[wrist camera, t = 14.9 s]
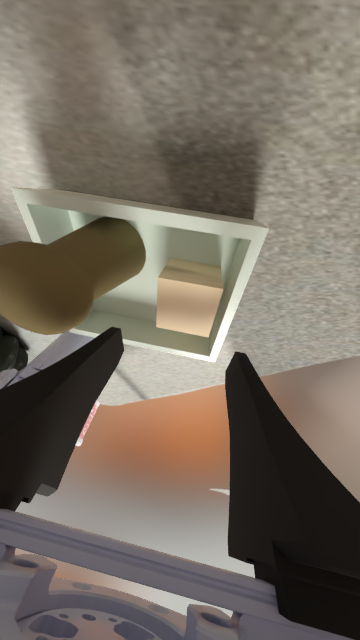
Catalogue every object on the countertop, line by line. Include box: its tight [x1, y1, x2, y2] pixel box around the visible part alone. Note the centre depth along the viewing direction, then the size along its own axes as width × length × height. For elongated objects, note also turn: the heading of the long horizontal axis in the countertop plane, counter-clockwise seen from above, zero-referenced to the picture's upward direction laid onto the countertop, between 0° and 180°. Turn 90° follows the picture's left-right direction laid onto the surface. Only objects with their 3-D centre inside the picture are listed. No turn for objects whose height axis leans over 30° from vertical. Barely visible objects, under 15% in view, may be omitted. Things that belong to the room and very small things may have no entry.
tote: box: [10, 187, 269, 362], centre depth 17 cm, size 14×18×5 cm
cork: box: [0, 216, 146, 335], centre depth 12 cm, size 6×6×11 cm
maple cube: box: [156, 258, 223, 337], centre depth 16 cm, size 5×5×5 cm
